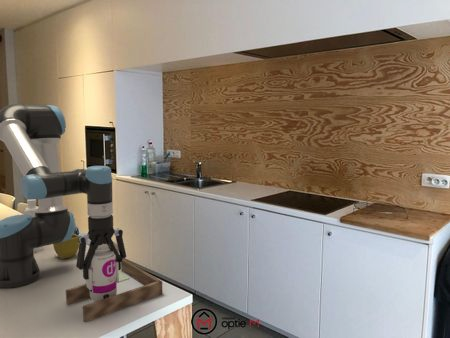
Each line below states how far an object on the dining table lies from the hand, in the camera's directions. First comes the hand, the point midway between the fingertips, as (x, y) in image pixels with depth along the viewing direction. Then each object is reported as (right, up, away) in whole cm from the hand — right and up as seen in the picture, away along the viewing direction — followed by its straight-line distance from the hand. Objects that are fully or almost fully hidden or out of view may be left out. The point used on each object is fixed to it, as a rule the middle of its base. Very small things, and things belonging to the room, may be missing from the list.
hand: (103, 284), depth 118 cm
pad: (-3, -4, +19) cm, 19 cm away
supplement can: (0, -5, +1) cm, 4 cm away
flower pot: (-29, -1, +41) cm, 51 cm away
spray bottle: (-48, 0, +49) cm, 68 cm away
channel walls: (-1, -5, +8) cm, 9 cm away
